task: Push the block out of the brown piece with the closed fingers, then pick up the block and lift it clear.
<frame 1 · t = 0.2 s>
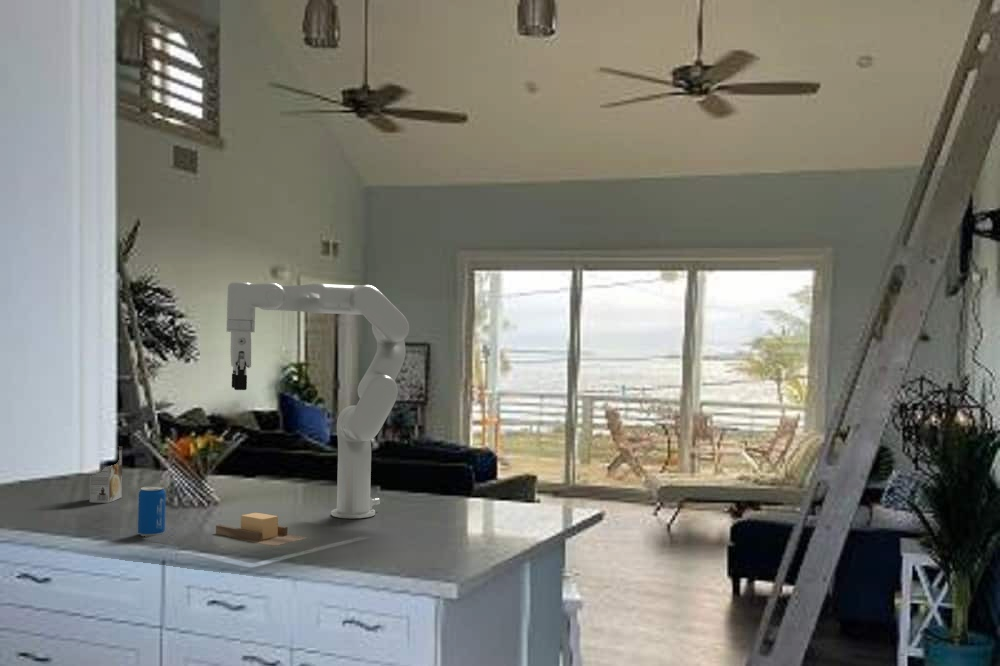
hand: (238, 388, 261), 37 cm above the counter, fingers open, 9 cm apart
block: (259, 535, 240), point 1 cm above the counter, touching brown piece
coffee box: (105, 500, 290), on the counter
beverage can: (151, 535, 243), on the counter
brown piece: (259, 539, 240), on the counter
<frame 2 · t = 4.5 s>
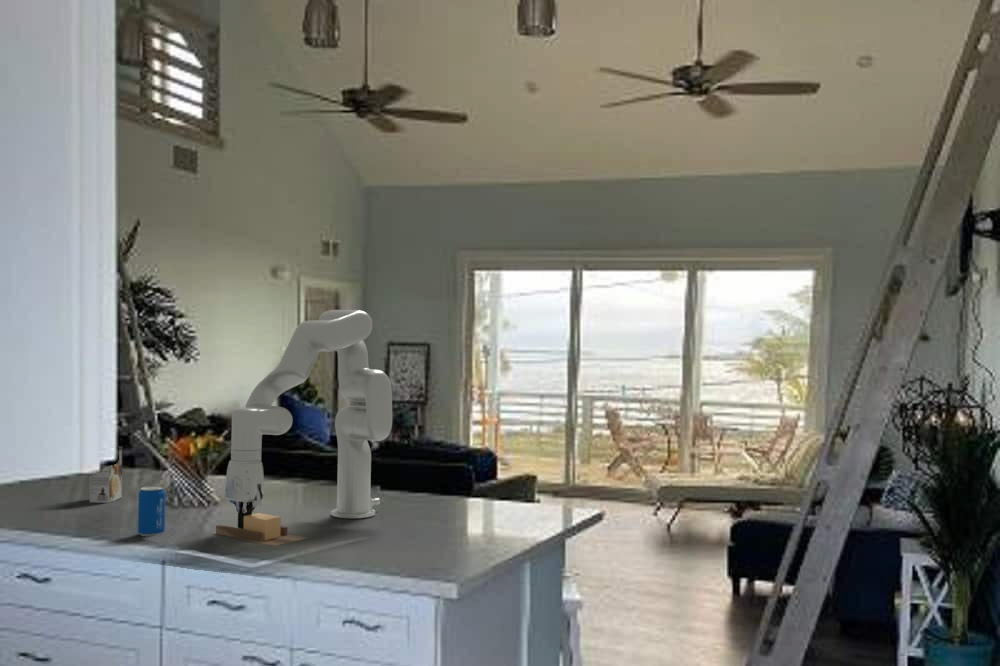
hand: (244, 527, 243), 2 cm above the counter, fingers closed
block: (261, 536, 239), point 1 cm above the counter, touching gripper
everything else where it was.
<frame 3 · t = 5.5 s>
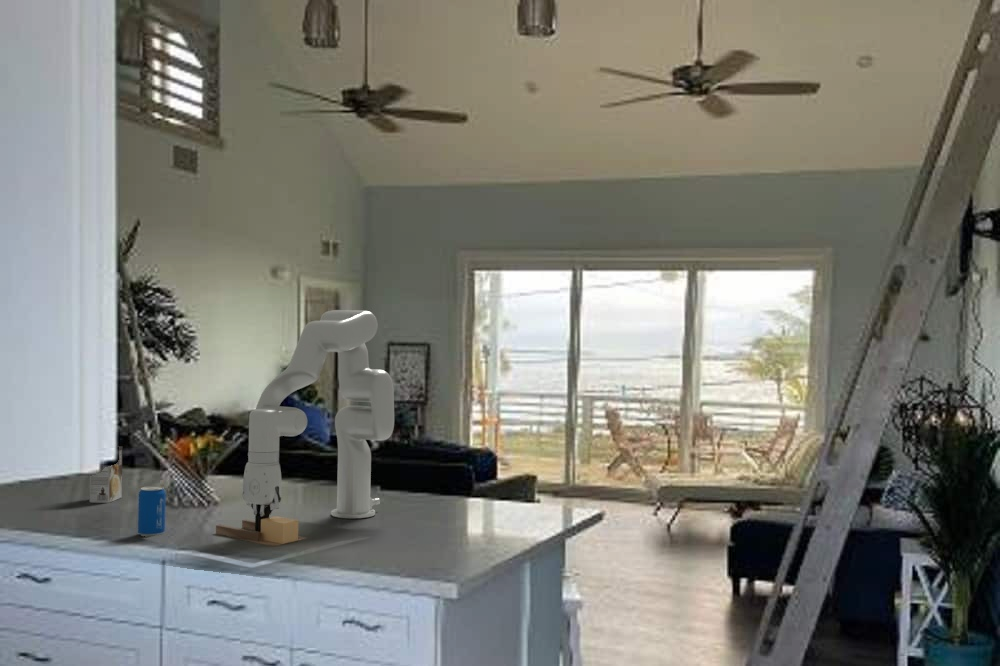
hand: (262, 530, 239), 2 cm above the counter, fingers closed
block: (279, 539, 235), point 1 cm above the counter, touching gripper, brown piece
everything else where it was.
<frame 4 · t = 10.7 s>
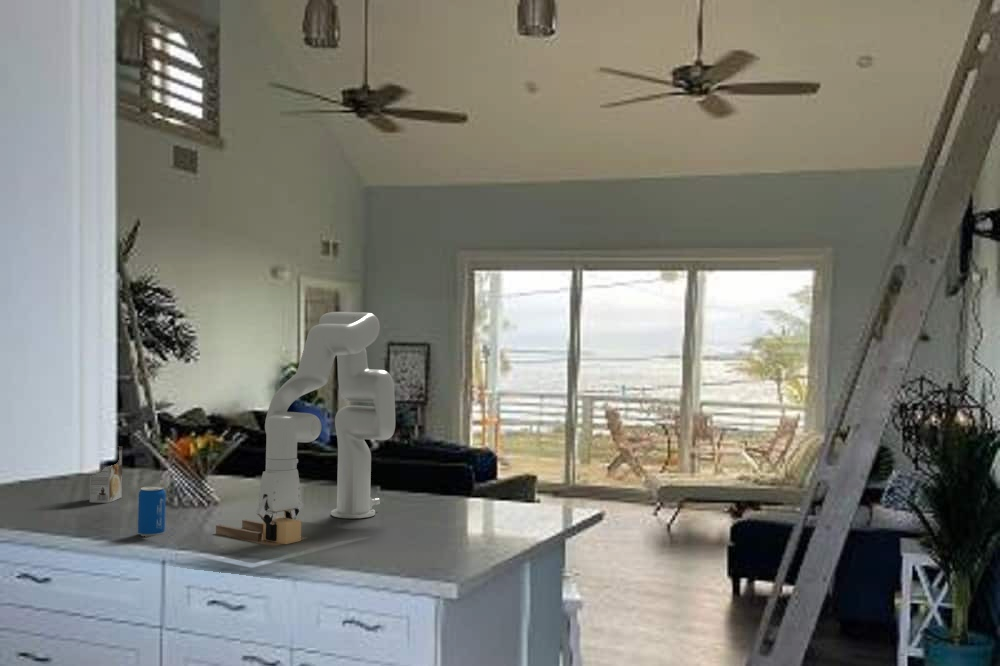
hand: (279, 537, 235), 2 cm above the counter, fingers closed on block, 5 cm apart
block: (281, 540, 235), point 1 cm above the counter, touching gripper, brown piece
everything else where it was.
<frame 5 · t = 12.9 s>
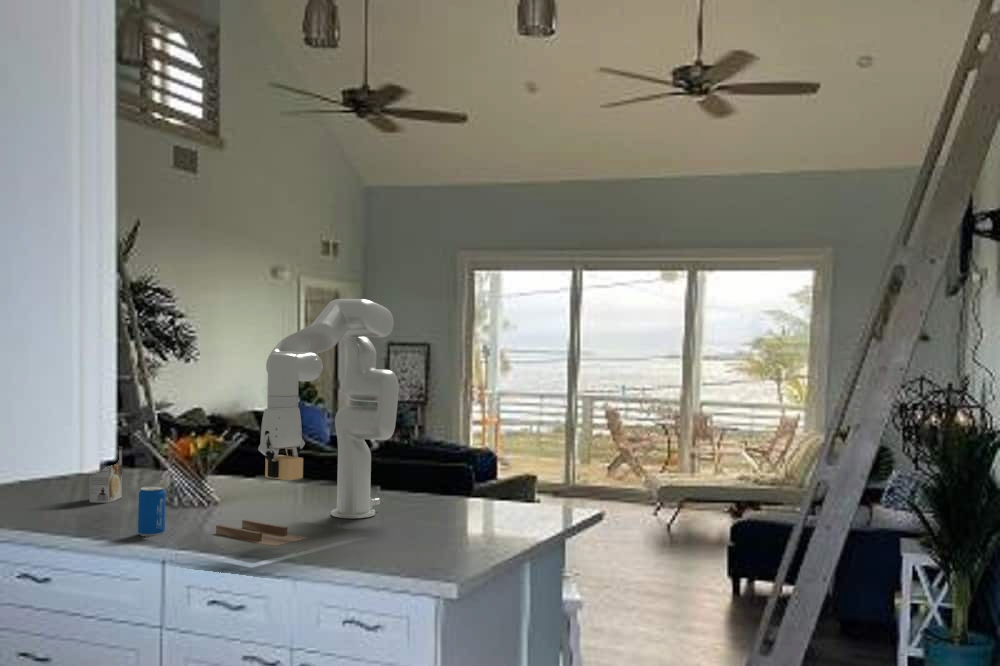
hand: (281, 474, 236), 17 cm above the counter, fingers closed on block, 5 cm apart
block: (283, 477, 235), point 17 cm above the counter, touching gripper
everything else where it was.
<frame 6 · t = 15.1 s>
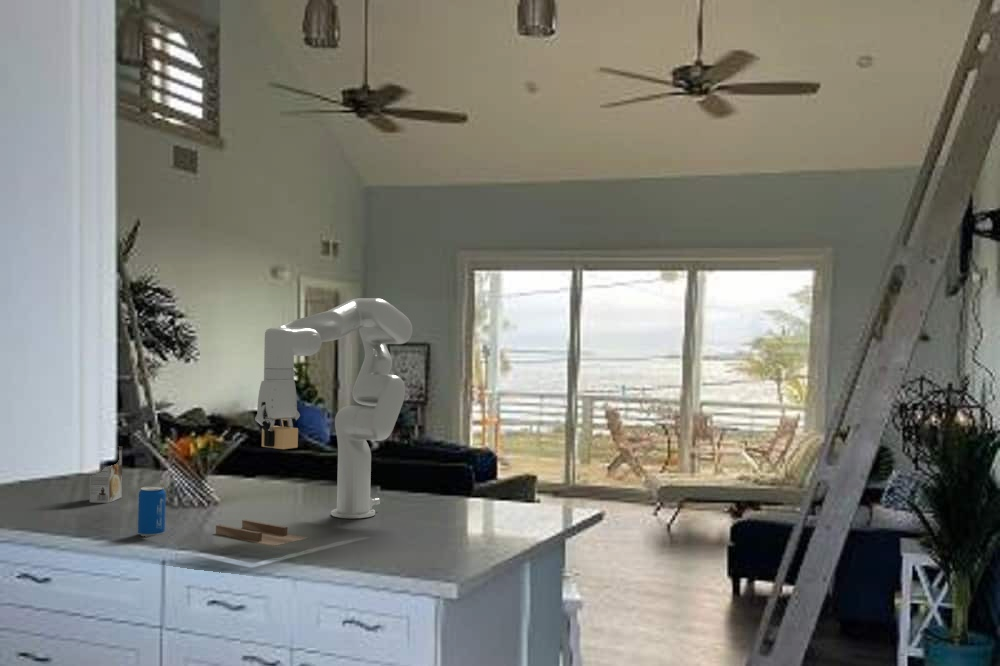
hand: (277, 444, 246), 23 cm above the counter, fingers closed on block, 5 cm apart
block: (279, 446, 246), point 23 cm above the counter, touching gripper
everything else where it was.
at the end: the gripper is holding block; block point 22.8 cm above the counter; block moved 22.9 cm from its start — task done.
